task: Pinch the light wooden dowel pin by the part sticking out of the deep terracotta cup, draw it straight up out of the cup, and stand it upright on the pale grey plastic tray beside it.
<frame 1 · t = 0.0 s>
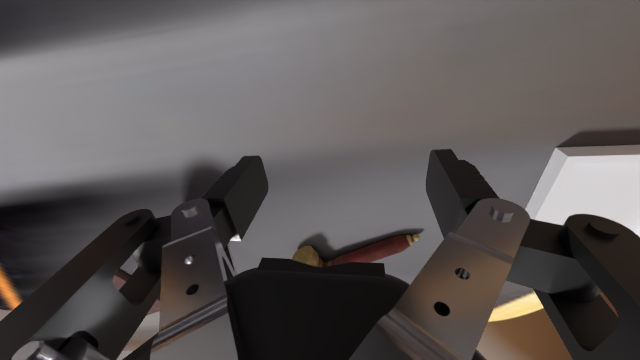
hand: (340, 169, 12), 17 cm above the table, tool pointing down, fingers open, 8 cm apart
gavel: (358, 248, 42), on the table
tray: (588, 209, 30), on the table
notebook: (130, 286, 63), on the table
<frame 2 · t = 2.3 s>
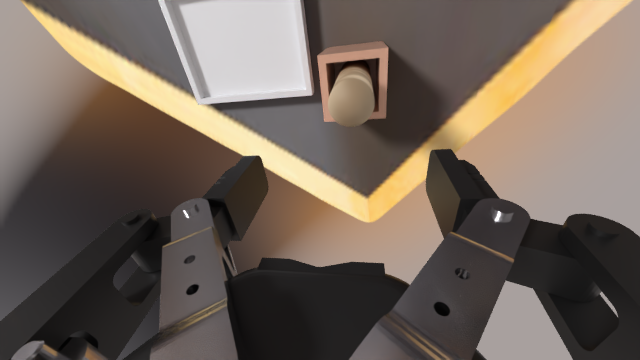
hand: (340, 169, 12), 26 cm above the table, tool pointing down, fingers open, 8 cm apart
deep cup: (355, 73, 33), on the table
tray: (244, 44, 33), on the table
dowel pin: (355, 74, 32), point 1 cm above the table, touching deep cup
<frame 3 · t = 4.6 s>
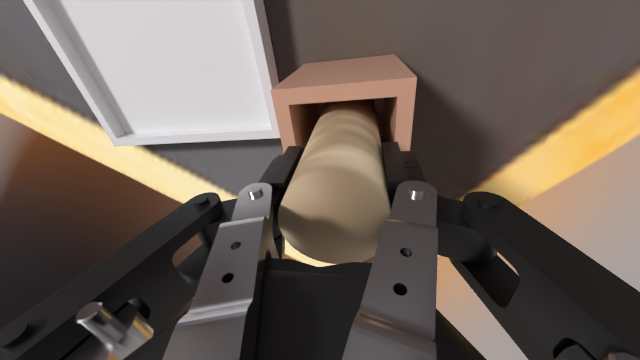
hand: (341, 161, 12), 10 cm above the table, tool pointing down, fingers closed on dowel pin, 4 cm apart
deep cup: (350, 103, 21), on the table
tray: (173, 58, 21), on the table
dowel pin: (349, 107, 20), point 1 cm above the table, touching deep cup, gripper
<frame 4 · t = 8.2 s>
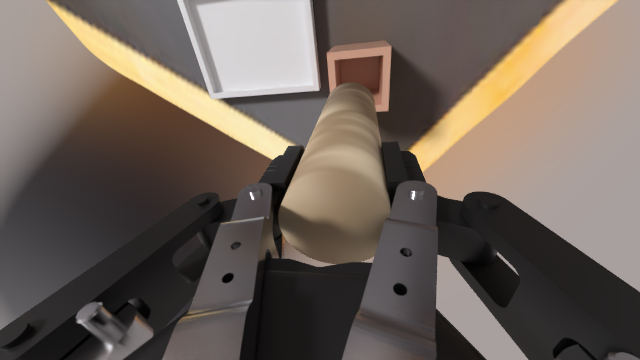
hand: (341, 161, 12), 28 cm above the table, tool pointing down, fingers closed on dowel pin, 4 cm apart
deep cup: (359, 70, 36), on the table
tray: (256, 42, 36), on the table
dowel pin: (350, 107, 20), point 19 cm above the table, touching gripper
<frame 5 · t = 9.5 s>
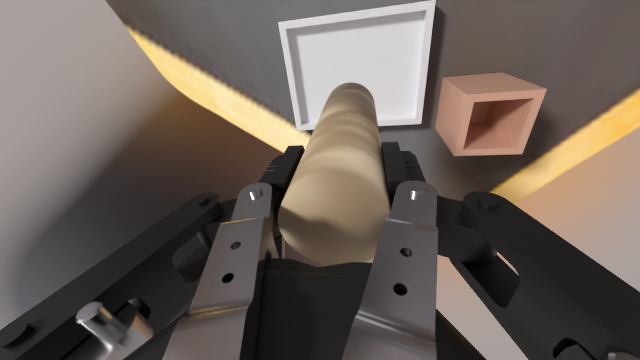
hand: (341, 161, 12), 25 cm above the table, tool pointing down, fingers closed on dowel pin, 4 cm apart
deep cup: (466, 102, 33), on the table
tray: (354, 73, 33), on the table
dowel pin: (350, 107, 20), point 16 cm above the table, touching gripper
when the fingers open (11 cm above the table, at t = 12.0 s): dowel pin stays where it is, resting on tray.
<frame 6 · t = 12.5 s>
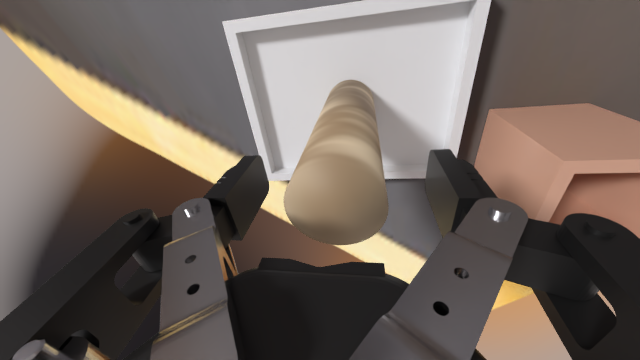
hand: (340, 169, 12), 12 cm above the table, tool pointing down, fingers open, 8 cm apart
deep cup: (522, 145, 21), on the table
tray: (350, 101, 21), on the table
dowel pin: (350, 104, 21), point 1 cm above the table, touching tray
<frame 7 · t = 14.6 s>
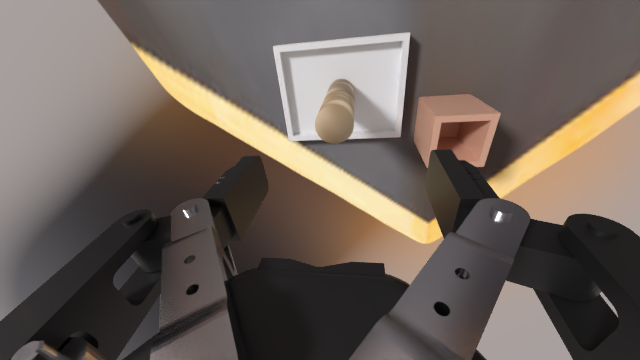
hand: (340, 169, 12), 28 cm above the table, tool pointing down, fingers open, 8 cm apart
deep cup: (439, 118, 37), on the table
tray: (341, 91, 37), on the table
dowel pin: (341, 93, 36), point 1 cm above the table, touching tray
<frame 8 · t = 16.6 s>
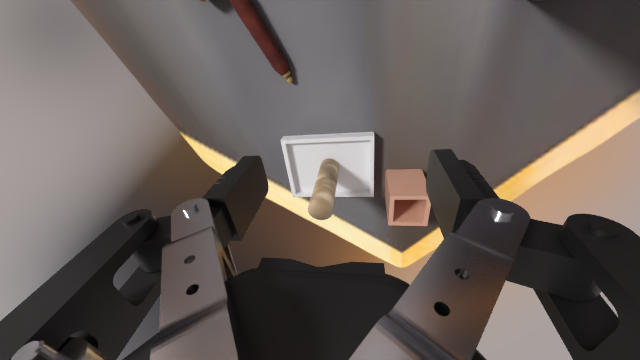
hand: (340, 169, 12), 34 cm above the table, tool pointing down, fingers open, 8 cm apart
deep cup: (402, 183, 51), on the table
gavel: (256, 21, 39), on the table
tray: (330, 164, 51), on the table
dowel pin: (329, 166, 50), point 1 cm above the table, touching tray
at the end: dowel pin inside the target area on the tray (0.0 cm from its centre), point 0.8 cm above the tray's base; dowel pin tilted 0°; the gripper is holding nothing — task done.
